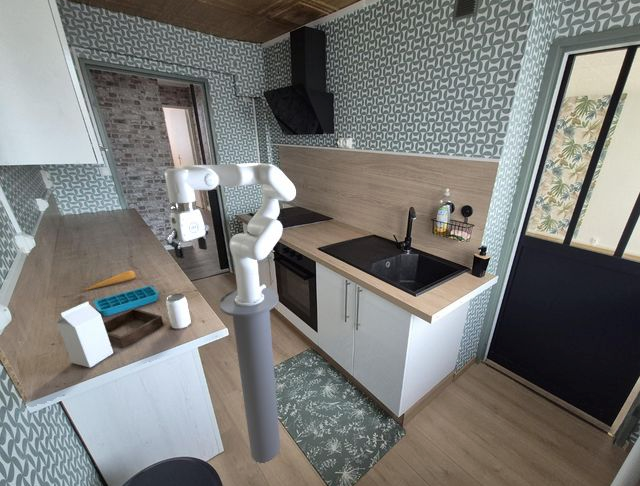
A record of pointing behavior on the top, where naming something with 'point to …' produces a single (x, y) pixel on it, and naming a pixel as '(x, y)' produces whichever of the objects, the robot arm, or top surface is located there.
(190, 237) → the robot arm
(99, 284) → the carrot
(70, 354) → the milk carton
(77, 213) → the top surface
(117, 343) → the crate
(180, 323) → the can
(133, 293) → the ice cube tray
